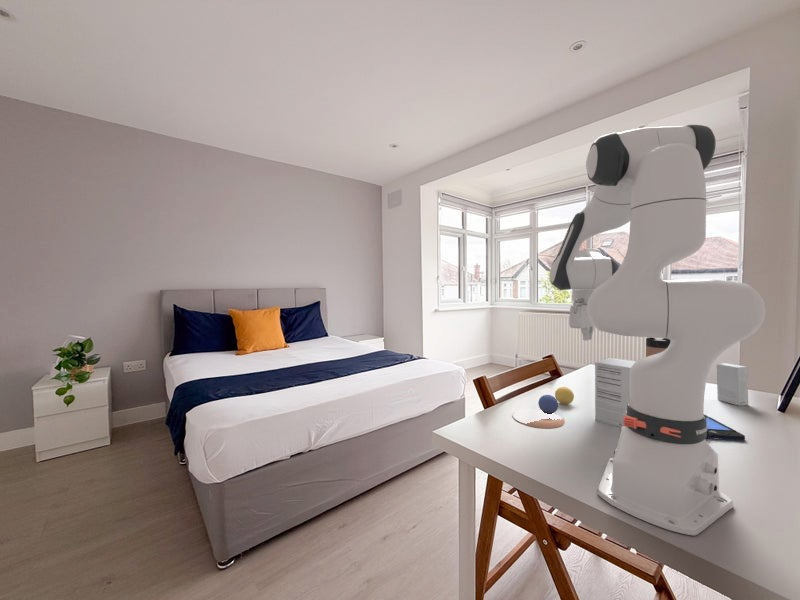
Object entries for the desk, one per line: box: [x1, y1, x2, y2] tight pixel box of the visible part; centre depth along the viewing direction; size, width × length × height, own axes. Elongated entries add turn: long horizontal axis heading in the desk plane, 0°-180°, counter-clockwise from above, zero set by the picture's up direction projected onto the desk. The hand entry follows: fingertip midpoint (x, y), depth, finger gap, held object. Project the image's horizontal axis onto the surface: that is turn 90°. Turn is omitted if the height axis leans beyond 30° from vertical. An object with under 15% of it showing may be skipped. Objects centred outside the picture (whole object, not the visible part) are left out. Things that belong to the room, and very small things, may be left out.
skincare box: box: [716, 362, 749, 407], centre depth 106 cm, size 6×4×12 cm
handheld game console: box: [703, 413, 746, 442], centre depth 88 cm, size 16×13×9 cm
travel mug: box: [645, 337, 670, 357], centre depth 111 cm, size 8×8×20 cm
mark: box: [525, 418, 565, 429], centre depth 96 cm, size 14×14×1 cm
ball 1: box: [537, 394, 559, 414], centre depth 100 cm, size 6×6×6 cm
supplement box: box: [594, 357, 637, 428], centre depth 93 cm, size 10×9×17 cm
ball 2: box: [554, 386, 575, 405], centre depth 107 cm, size 6×6×6 cm
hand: (587, 340), depth 110 cm, fingers closed
